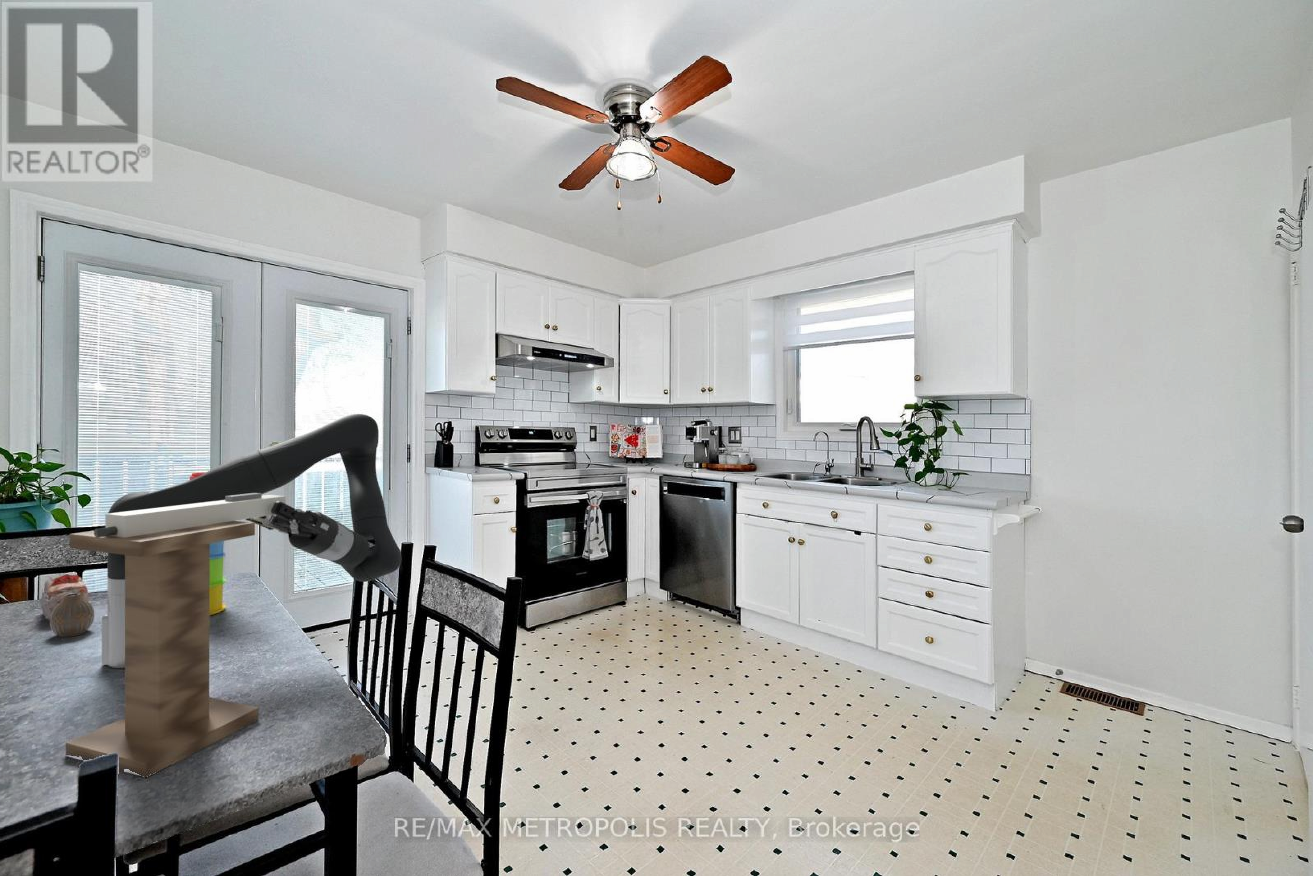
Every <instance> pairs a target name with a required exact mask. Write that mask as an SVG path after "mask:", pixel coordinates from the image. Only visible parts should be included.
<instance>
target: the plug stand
mask: <svg viewBox="0 0 1313 876" xmlns="http://www.w3.org/2000/svg"><path fill="white" fill-rule="evenodd" d="M255 528H256V527H255V523H253V522H251V521H241V520H236V521H229V522H223V523H216V524H210V525H203V526H196V527H190V528H183V529H177V530H170V531H164V532H157V533H151V534H144V535H138V536H131V537H125V538H124V537H116V536H104V537H98V538H97V537H95V535H94V531H95V530H90V531H81V532H75V533H70V534H69V548H70V549H75V550H83V551H91V552H99V553H105V554H106V553H107V554H108V553H114V554H122V555H125V668H124V718H122V719H119V720H117V721H115V722H113V723H110V724H107V725H106V726H102V727H100V728H98V729H95V730H93V731H91V732H89V733H86V734H83V735H82V736H79V737H76V738H74V739H71V740H70V741H67V742H65V756H66V755H71V756H77V757H79V756H81V757H82V759H83V760H89V759H94V758H96V757H99V756H102V755H107V754H112V753H118V754H119V771H118V772H121V773H124V769H129V770H130V771H132V772H135V773H137V774H139V775H141V776H144V777H147V776H149V775H150V774H153V773H155V772H157V773H159V772H161V771H163V770H165V769H166V767H167V768H168V766H169V765H171V766H172V765H174V764H177V763H179V762H180V761H182V760H184V759H186V758H188V757H191V756H192V755H194V754H195V753H197V752H199V751H202V750H203V749H205V748H207V747H210V746H211V745H213V744H215V743H217V742H219V741H221V740H223V739H224V738H226V737H228V736H230V735H232V734H234V733H236V732H238V731H239V730H241V729H244V728H246V727H247V726H249V725H251V724H253V723H255V722H257V721H259V707H257V706H252V705H248V704H244V703H238V702H233V701H228V700H225V699H224V700H223V699H219V698H215V697H214V698H213V697H210V616H211V615H210V544H211V543H216V542H221V541H224V542H226V541H230V540H236V539H240V538H241V539H242V538H248V537H251V536H255V535H256V529H255ZM83 760H81V762H84V761H83ZM169 767H170V766H169ZM164 768H165V769H164ZM162 769H163V770H162ZM160 770H161V771H160ZM158 771H159V772H158ZM155 774H156V773H155ZM153 775H154V774H153Z"/></svg>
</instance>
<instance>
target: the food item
mask: <svg viewBox="0 0 1313 876" xmlns="http://www.w3.org/2000/svg"><path fill="white" fill-rule="evenodd" d="M41 591H42V592H41V598H40V607H41V610H42V615H43V616H44V618H45V620H47V621H49V622H50V616H51V613H52V611H53V610H54V608H55V607H56V606H57V605H58V604H59V603H60V602H61V601H62V600H63V598H64V596H65V595H67V594H72V593H80V594H81V596H82V597H83V598H84V599H86V600H87V601H88V602H89V590H88V586H87V585H86V584H85V583H84V581H83V579H82V577H81V576H80V575H78V574H68V573H67V574H64V575H61V576H58V577H54V578H53V577H49V579H48V580H46V581H45V583H44V589H43V588H42V590H41Z"/></svg>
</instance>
